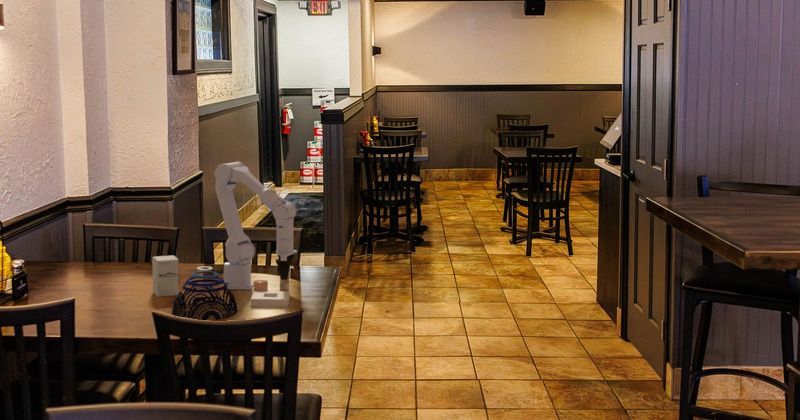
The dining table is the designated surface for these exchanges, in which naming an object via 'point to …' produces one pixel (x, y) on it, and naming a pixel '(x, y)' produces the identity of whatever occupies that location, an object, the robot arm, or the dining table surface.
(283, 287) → the beech pin
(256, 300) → the hole plate
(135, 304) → the dining table surface
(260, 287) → the terracotta peg
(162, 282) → the supplement box
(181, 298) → the decorative bowl
